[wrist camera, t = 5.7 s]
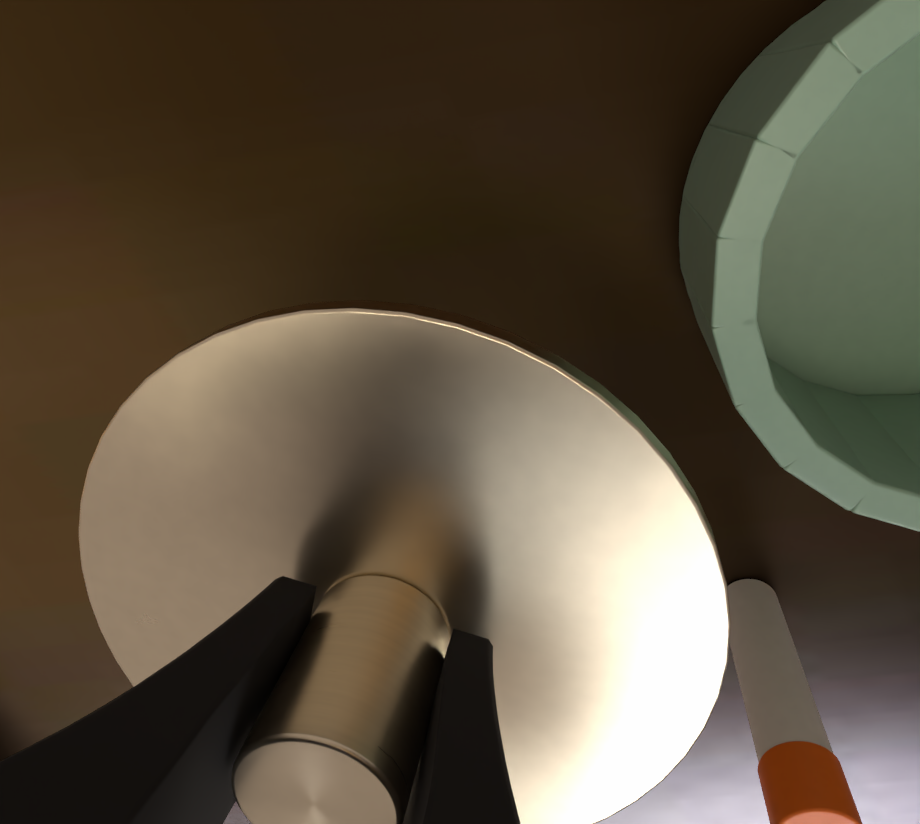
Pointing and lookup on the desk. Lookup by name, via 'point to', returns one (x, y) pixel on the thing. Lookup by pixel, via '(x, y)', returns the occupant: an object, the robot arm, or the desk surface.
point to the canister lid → (412, 555)
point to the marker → (784, 715)
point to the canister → (819, 252)
